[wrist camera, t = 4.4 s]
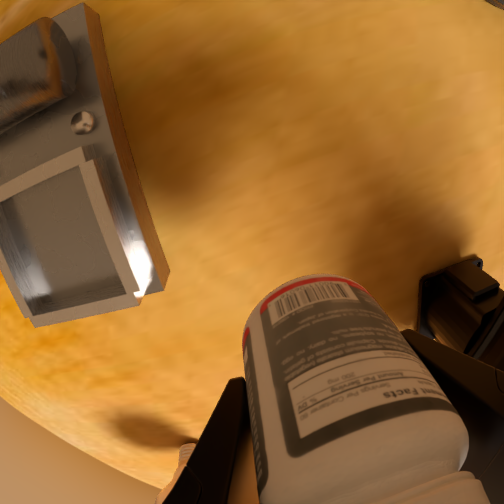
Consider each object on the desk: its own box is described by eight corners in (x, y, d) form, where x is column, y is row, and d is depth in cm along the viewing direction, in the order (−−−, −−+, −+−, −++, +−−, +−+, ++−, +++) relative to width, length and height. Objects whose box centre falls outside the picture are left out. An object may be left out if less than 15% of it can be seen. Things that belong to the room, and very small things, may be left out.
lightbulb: (149, 432, 26) (136, 532, 16) (210, 422, 26) (212, 531, 16) (179, 463, 28) (175, 550, 18) (234, 454, 28) (241, 547, 18)
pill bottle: (324, 393, 12) (387, 582, 4) (217, 358, 11) (225, 609, 3) (400, 301, 10) (540, 493, 3) (290, 243, 9) (436, 554, 2)
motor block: (170, 271, 20) (149, 338, 14) (43, 303, 20) (-1, 360, 14) (98, 14, 13) (45, -26, 7) (-25, 88, 13) (-92, 90, 7)
